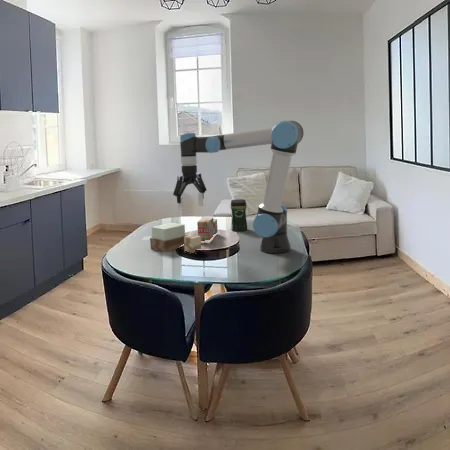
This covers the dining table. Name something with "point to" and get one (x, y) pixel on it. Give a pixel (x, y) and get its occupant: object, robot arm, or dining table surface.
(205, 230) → the printed cardboard box
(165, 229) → the tower top
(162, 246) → the tower base
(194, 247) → the maple block
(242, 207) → the coffee jar
